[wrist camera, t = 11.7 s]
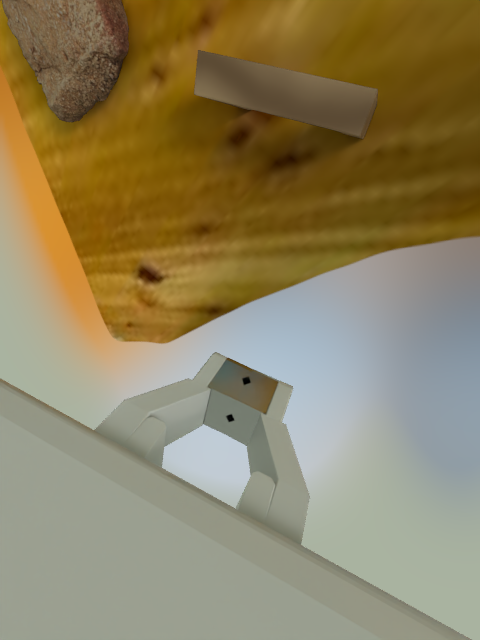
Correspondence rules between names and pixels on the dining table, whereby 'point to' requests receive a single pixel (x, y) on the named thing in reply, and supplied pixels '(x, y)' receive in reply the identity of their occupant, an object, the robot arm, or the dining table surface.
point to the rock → (71, 49)
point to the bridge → (286, 93)
